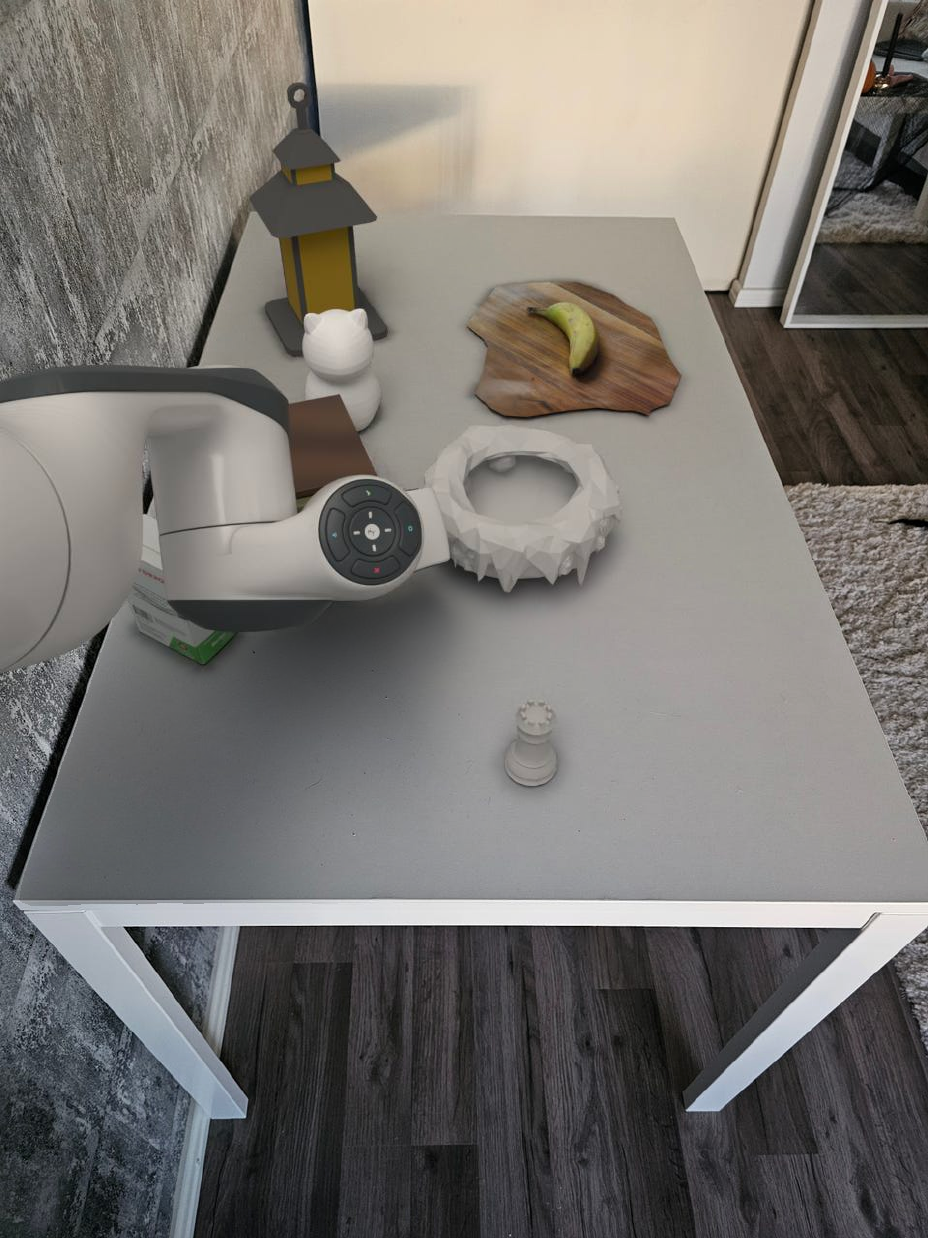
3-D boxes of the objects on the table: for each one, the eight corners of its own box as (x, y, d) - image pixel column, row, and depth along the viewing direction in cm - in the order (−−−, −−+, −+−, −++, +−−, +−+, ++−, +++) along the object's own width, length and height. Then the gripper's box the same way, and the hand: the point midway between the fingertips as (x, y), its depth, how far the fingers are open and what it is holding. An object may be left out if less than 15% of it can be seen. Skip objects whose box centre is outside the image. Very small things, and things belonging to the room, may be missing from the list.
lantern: (263, 308, 129) (223, 72, 107) (357, 289, 133) (337, 57, 111) (290, 358, 120) (253, 112, 98) (390, 336, 124) (376, 95, 102)
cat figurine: (312, 448, 107) (296, 334, 96) (304, 389, 116) (288, 277, 104) (387, 440, 109) (380, 326, 97) (374, 382, 117) (366, 270, 106)
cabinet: (382, 545, 96) (377, 474, 89) (255, 575, 93) (238, 504, 86) (347, 464, 105) (339, 393, 98) (230, 489, 102) (213, 417, 95)
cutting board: (700, 415, 112) (706, 389, 110) (482, 429, 110) (482, 402, 107) (632, 278, 136) (636, 253, 133) (451, 287, 134) (451, 262, 131)
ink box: (238, 634, 88) (214, 544, 79) (202, 667, 85) (173, 578, 76) (172, 599, 91) (142, 508, 82) (135, 630, 88) (100, 539, 79)
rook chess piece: (561, 785, 77) (570, 730, 71) (509, 792, 76) (514, 737, 70) (549, 741, 80) (557, 685, 74) (499, 748, 79) (503, 692, 73)
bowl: (385, 584, 92) (379, 509, 85) (459, 467, 105) (460, 393, 98) (580, 642, 87) (592, 567, 80) (634, 511, 100) (648, 437, 93)
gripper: (225, 615, 72) (226, 613, 85) (468, 555, 76) (433, 563, 90) (204, 537, 71) (209, 548, 84) (450, 482, 76) (418, 500, 89)
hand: (326, 555), depth 87 cm, fingers closed
